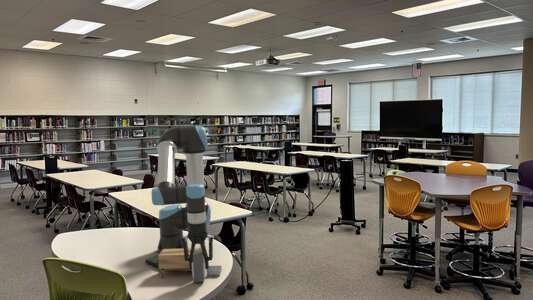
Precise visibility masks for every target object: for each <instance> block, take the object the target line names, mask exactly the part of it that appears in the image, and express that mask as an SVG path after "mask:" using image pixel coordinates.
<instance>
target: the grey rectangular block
mask: <svg viewBox="0 0 533 300" xmlns="http://www.w3.org/2000/svg"><path fill="white" fill-rule="evenodd" d="M203 262H204V256H203V252H202V251H194V253H193V269H194V278H193V282H194V283H204V282H205V280H206V278H204V270H203Z"/></svg>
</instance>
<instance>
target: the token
mask: <svg viewBox="0 0 533 300" xmlns="http://www.w3.org/2000/svg"><path fill="white" fill-rule="evenodd" d="M222 267H223V266H222V265H209V267H208V269H207V276H206V278H208V277H209V278H211V277H220V276H221V274H222V269H223V268H222Z"/></svg>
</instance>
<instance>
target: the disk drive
mask: <svg viewBox="0 0 533 300" xmlns="http://www.w3.org/2000/svg"><path fill="white" fill-rule="evenodd" d="M158 255H159V254H157V255H154V256H152V257H147V258H145V260H144V261H145V264H146V265H148V266H151V267H152V268H154V269H157V270H159V263H158ZM163 271H164V269H163Z"/></svg>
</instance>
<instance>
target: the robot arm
mask: <svg viewBox="0 0 533 300" xmlns="http://www.w3.org/2000/svg"><path fill="white" fill-rule="evenodd" d="M207 149H209V145H208V138H207V133H206V129H205V127H204V126H200V125H192V126H191V125H187V126H173V127H170V128H168V129H167V130H165V131H164V132H163V133H162V134H161V135H160V136H159V138H158V140H157V143H156V152H157V153H158V161H157V183H156V184H157V185H156V187H153V188H152V189H151V203H152V205H153V206H163V207H162V208H160V210H159V212H158V220H159V223H158V224H159V241H158V244H157V254H158V255H159V254H160V252H161V251H162V250H163V249H184V258H185V261H189V266H190V269H192V271H191V272H192V273H191V274H192V275H191V276H192V279H194V269H193V253H194V250H195V248H196V245H199V247H200V246H201V248H202V252H203V256H204V262H203V270H204V278H205V279H207V277H206V276H207V269H208V267H209V266H210V264H209V263H210V262H209V261H212V260H213V257H214V252H213V251H214V248H213V247H214V246H213V245H214V244H213V243H214V237H215V236H214V235H212V234H211V235H210V234H209V233H208V231H207V229H208V228H209V226H210V224H211V219H212V218H211V216H212V215H211V214H212V206H211V205H210V204H209V202H208V201H207V200H206V198H205V197H206V190H205V176H204V174H205V173H204V170H205V169H204V154H205V153H206V152H207V151H206V150H207ZM179 150H182V154H183V155H185V161H186V162H185V164H186V181H187V185H183V186H182V185H181V186H176V185H175V184H176V181H175V178H176V175H175V174H176V173H175V172H176V171H175V170H176V168H175V167H176V164H175V163H176V162H175V161H176V160H175V159H176V152H177V151H179ZM182 204H185V207H183V206H182ZM185 230H187V235H184V232H183V231H185ZM206 239H207V241H208V250H207V247H206V243H205V242H206ZM188 240H189V242H191V244H190V248H191V251H190V257H189V254H188V248H189V245H188Z"/></svg>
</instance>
